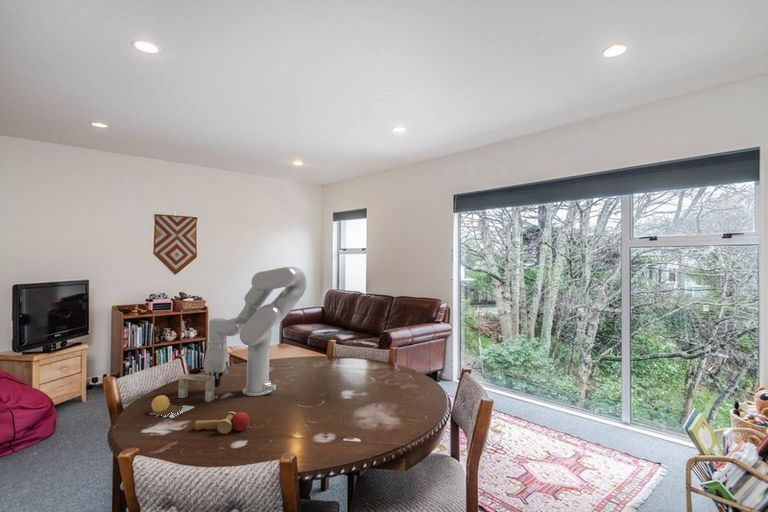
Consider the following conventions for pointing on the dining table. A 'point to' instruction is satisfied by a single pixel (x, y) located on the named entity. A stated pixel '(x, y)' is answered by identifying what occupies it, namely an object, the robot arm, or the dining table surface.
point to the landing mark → (185, 408)
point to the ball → (160, 403)
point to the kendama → (226, 422)
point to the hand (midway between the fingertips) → (216, 386)
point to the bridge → (184, 379)
